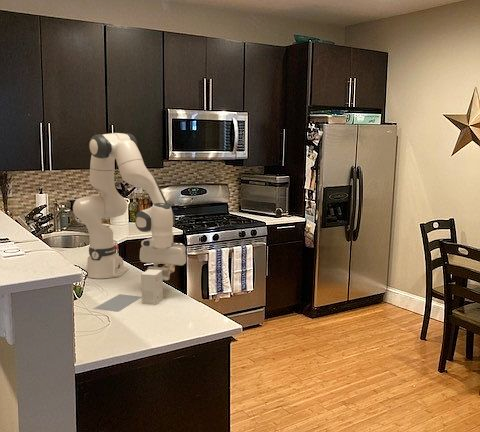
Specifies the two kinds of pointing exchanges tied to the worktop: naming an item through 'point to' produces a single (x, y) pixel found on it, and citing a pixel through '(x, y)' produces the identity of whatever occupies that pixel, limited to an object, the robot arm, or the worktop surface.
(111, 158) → the robot arm
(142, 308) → the worktop surface
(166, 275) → the wooden t-shaped stand
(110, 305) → the mat
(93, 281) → the worktop surface
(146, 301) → the small box
